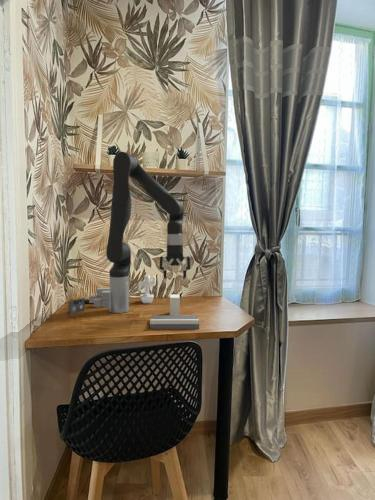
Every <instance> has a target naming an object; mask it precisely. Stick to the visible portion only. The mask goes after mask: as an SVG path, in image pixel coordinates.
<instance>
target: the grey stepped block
mask: <svg viewBox="0 0 375 500" xmlns="http://www.w3.org/2000/svg"><path fill="white" fill-rule="evenodd" d="M109 292H110V287H97V288H96V294H90V295H89V296H88V304H89V303H94V304H93V308H94V307H96V308H109Z"/></svg>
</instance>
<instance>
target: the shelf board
mask: <svg viewBox="0 0 375 500" xmlns="http://www.w3.org/2000/svg"><path fill="white" fill-rule="evenodd" d="M149 329H150V330H168V329H169V330H174V329H175V330H181V329H182V330H185V329H188V330H193V329H195V330H197V329H199V330H200V319H199V317H198V315H192V314H191V315H183V314H181V315H170V314H169V315H151V318H150V319H149Z"/></svg>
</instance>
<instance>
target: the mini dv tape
mask: <svg viewBox="0 0 375 500" xmlns="http://www.w3.org/2000/svg"><path fill="white" fill-rule="evenodd" d="M85 300H86V299H85V298H84V297H83V298H79V299H75V300H70V301H68V303H67V304H68V315H73V314H78V313H80V312H84V311H85V308H86V307H85V304H86V303H85Z"/></svg>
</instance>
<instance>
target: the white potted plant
mask: <svg viewBox="0 0 375 500" xmlns="http://www.w3.org/2000/svg"><path fill="white" fill-rule="evenodd" d="M143 279H144V281H143V280H142V281H141V280H140V281H139V282H138V285H137V288H138V292H142V288H143V287H144V293H141V294H140V299H141V301H142V302H141V303H143V304H152V303H153V300H154V298H155V294H154V293H150V287H155V286H156V283H157V277H156V276H155V275H153V276H152V280H150V279H151V277H150V275H149V274H145V275H144V278H143Z"/></svg>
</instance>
